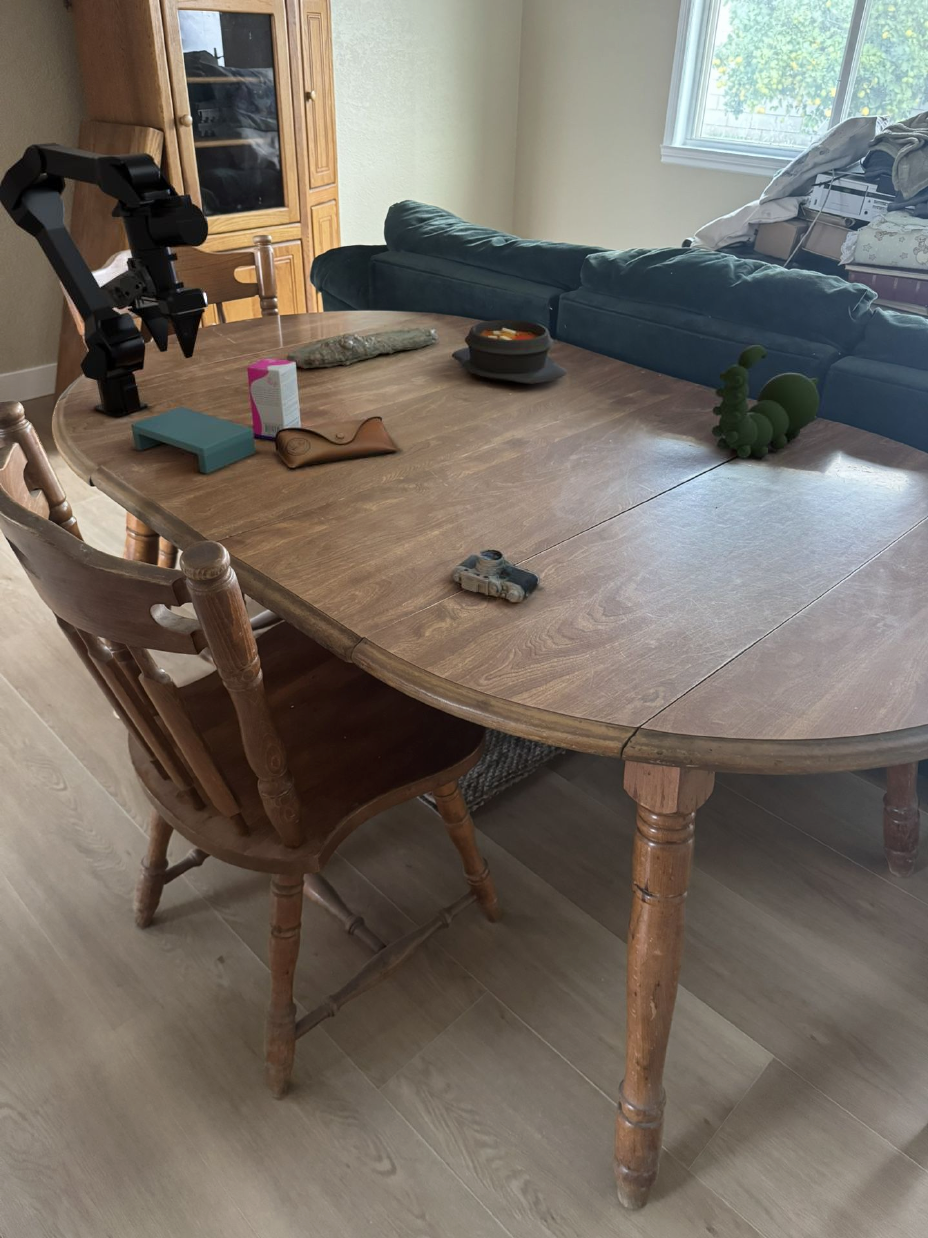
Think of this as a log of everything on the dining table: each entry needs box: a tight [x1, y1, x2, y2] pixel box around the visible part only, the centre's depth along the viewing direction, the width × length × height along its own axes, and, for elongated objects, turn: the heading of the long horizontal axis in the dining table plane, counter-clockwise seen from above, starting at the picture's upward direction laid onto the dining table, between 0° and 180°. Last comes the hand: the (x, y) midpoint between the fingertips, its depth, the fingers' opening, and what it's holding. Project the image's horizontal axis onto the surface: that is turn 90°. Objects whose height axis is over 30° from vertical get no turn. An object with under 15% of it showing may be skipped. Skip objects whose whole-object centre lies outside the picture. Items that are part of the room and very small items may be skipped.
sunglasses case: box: [274, 415, 399, 469], centre depth 141 cm, size 18×7×7 cm, turn 116°
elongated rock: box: [286, 326, 438, 369], centre depth 184 cm, size 35×5×10 cm
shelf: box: [130, 406, 256, 475], centre depth 140 cm, size 16×10×4 cm, turn 56°
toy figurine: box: [711, 344, 820, 459], centre depth 143 cm, size 9×19×25 cm
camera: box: [452, 548, 541, 603], centre depth 107 cm, size 5×10×4 cm, turn 58°
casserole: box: [451, 319, 568, 385], centre depth 175 cm, size 25×19×8 cm
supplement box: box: [246, 357, 302, 441], centre depth 145 cm, size 6×6×12 cm
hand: (176, 354), depth 143 cm, fingers open, 9 cm apart
